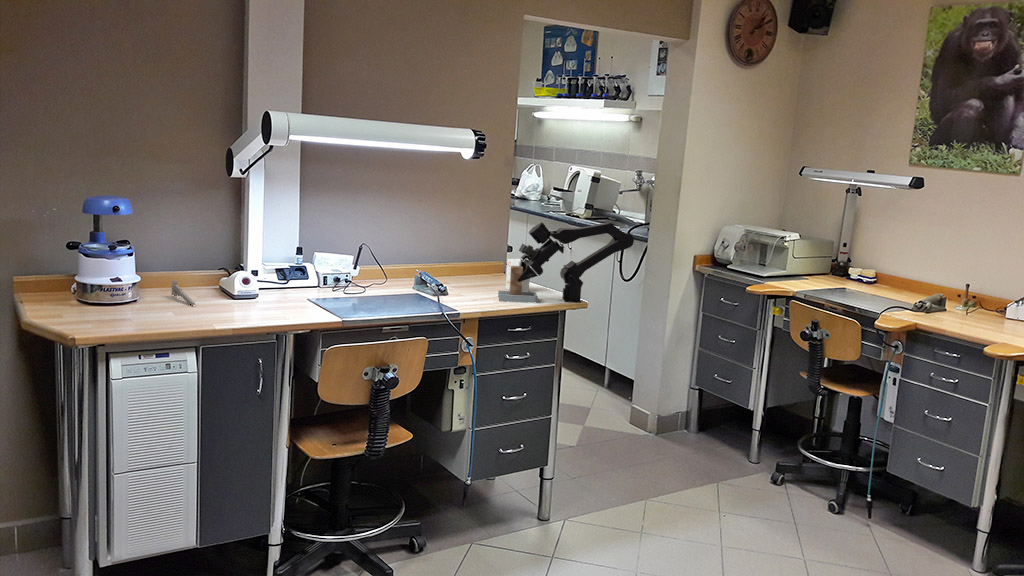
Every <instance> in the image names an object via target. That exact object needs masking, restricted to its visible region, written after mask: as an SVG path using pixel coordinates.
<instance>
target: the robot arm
mask: <svg viewBox="0 0 1024 576" xmlns="http://www.w3.org/2000/svg"><path fill="white" fill-rule="evenodd" d="M528 234H529V235H530V236H531V238H532V239H533V241H535V242H536V243H537V244H538V245H540V244H541V246H540V247H536V248H535V249H534V246H532V245H530V244H528V245H526V244H525V243H521V245H520V247H519V249H518V252H520V253H521V254H523V255H522V256H520V259H521V265H520V266H522V267H523V273H522V275H521V276H520V277H519V278H518V282H521V281H524V280H527V279H532V278H536V277H538V276H541V275H542V274H543V273H544V269H543V267H542V266H543V265H544V264H545V263H546V262H547V263H548V262H549V261H550V259H551V258H552V257H553V256H554V255H556V253H557V252H558V251H559V252H560V253H561V254H564V251H565V250H564V249H565V246H564V245H567V244H570V243H574V242H575V241H577V240H579V239H583V238H587V237H595V236H599V235H603V234H608V235H610V237H611V239H610V240H609V243H608V242H607V244H605V245H604V246H602V247H601V248H599V249H598V250H596V251H595V252H592V253H591V254H589V255H588V256H586V257H584V258H583V259H582V260H580V261H577V262H575V261H573V260H570V261H569V262H568V263H567V264H563V267H562V268H561V269H560V271H559V274H560V278H561V280H563V281H564V287H563V289H562V300H563V301H564V302H567V303H568V302H569V303H582V300H581V297H582V296H581V294H582V288H583V285H584V282H583V281H582V279H581V277H582V276H583V275H584V273H585V272H586V271H588V270H590V269H591V268H592V267H594V266H595V265H597V264H599V263H600V262H602V261H604V260H605V259H607V258H608V257H610V256H612V255H613V254H615V253H618V252H621V251H622V252H623V251H624V250H627V249H629V248H631V247H632V246H634V242H635V238H634V236H633V235H632V234H630V233H627V232H625V231H623V230H621V229H619V227H616V225H614V224H613V223H611V222H609V221H606V222H604V223H599V224H593V225H587V226H582V227H559V228H558V229H557V230H549V229H548V228H547V226H546V225H545V223H544V222H543V221H541V222H540V223H538V224H536V225H535V226H533V227H531V229H530V230H529V232H528ZM553 239H554V240H553ZM560 243H561V244H563V245H561V244H560ZM522 259H523V260H522ZM580 300H581V301H580Z"/></svg>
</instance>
